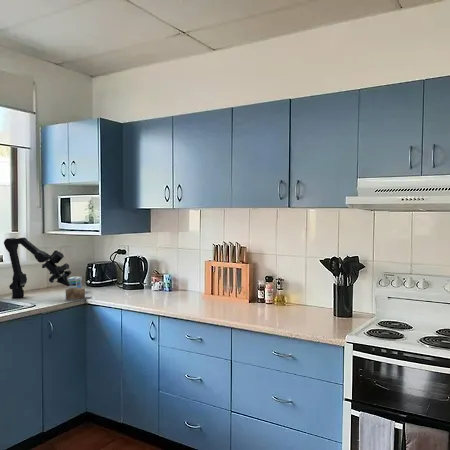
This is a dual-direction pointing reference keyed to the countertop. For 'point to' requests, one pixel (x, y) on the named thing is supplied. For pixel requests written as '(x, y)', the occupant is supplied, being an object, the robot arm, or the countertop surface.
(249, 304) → the countertop surface
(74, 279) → the light bulb box
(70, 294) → the walnut block
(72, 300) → the rubber mat
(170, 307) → the countertop surface
